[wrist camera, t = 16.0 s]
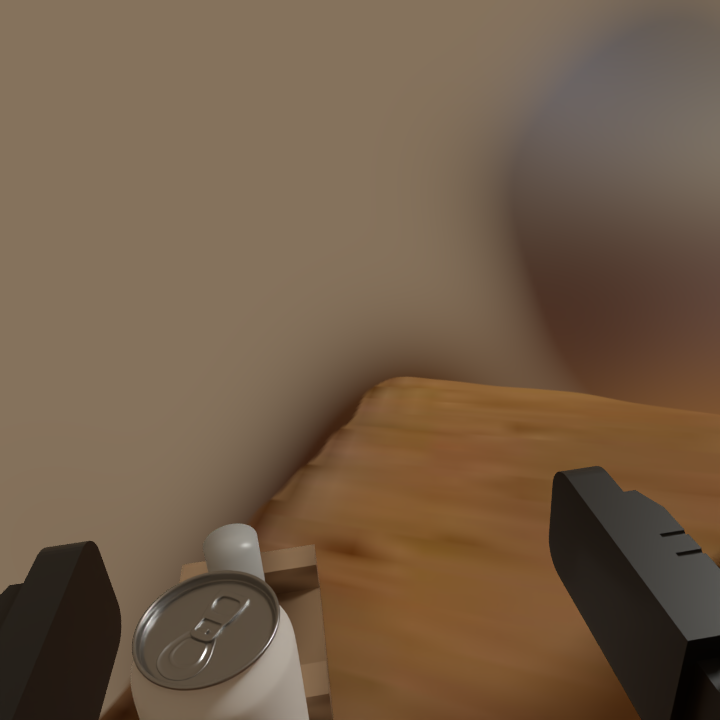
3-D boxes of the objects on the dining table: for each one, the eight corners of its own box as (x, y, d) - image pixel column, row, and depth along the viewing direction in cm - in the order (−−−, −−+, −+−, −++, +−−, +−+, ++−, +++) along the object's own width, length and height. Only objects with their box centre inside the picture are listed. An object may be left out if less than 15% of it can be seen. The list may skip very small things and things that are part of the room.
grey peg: (275, 621, 38) (257, 520, 35) (275, 660, 35) (256, 555, 32) (227, 628, 38) (205, 527, 34) (224, 669, 35) (199, 564, 32)
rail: (318, 577, 42) (314, 544, 41) (358, 963, 23) (352, 922, 22) (191, 597, 42) (182, 564, 40) (123, 1015, 22) (104, 976, 21)
